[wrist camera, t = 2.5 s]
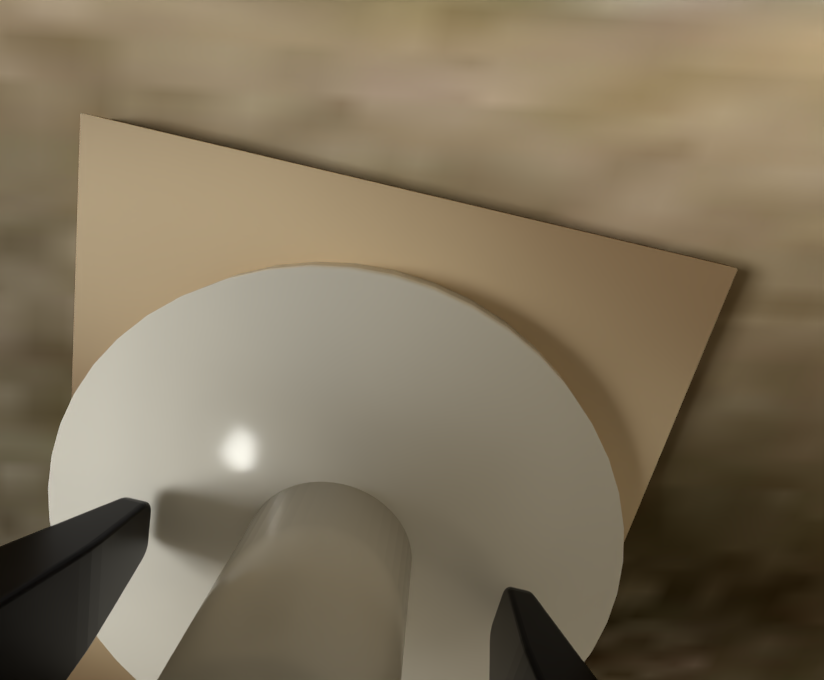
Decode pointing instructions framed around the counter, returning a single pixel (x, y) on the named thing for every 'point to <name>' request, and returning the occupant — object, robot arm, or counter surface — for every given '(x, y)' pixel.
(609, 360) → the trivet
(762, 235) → the counter surface
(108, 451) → the lid
